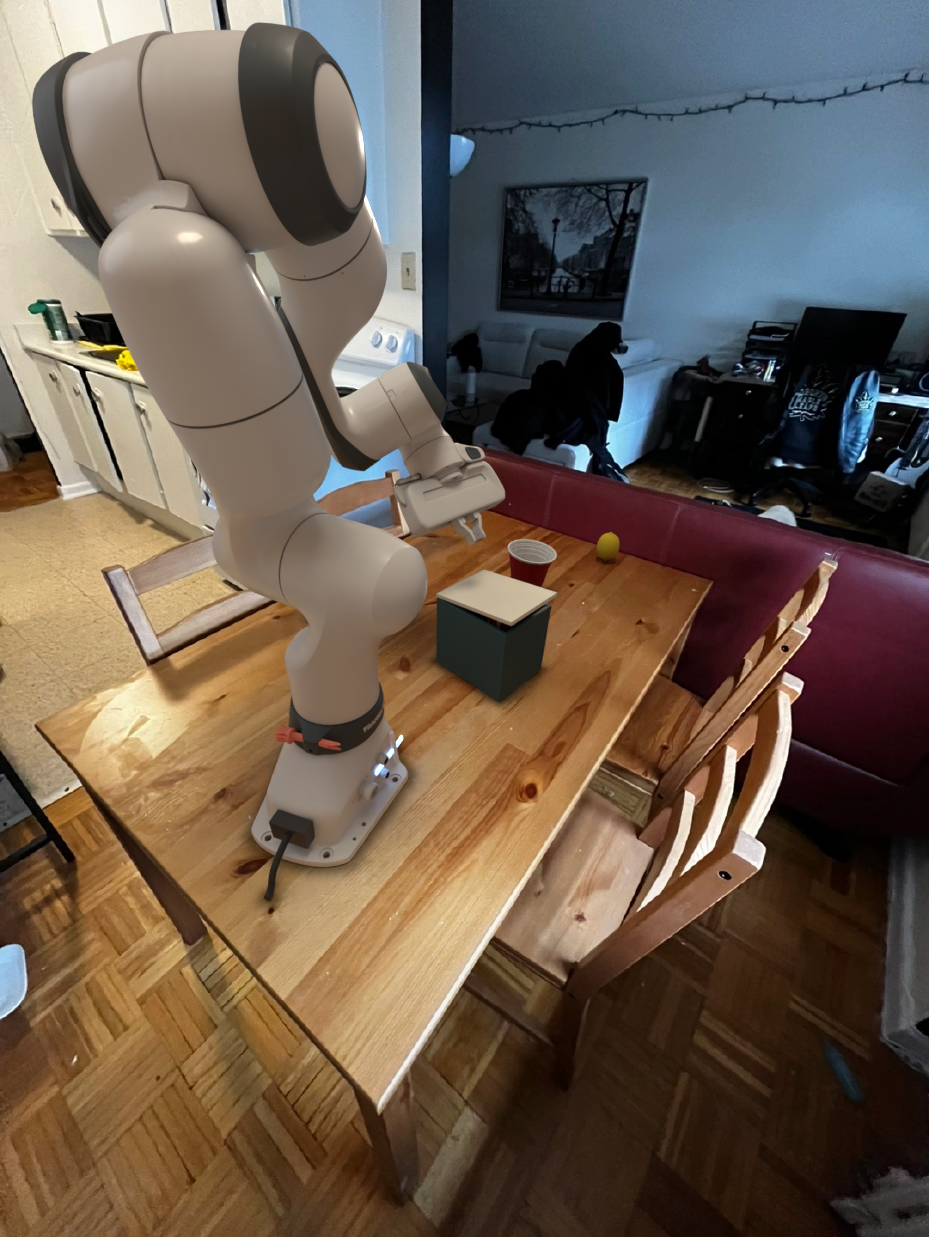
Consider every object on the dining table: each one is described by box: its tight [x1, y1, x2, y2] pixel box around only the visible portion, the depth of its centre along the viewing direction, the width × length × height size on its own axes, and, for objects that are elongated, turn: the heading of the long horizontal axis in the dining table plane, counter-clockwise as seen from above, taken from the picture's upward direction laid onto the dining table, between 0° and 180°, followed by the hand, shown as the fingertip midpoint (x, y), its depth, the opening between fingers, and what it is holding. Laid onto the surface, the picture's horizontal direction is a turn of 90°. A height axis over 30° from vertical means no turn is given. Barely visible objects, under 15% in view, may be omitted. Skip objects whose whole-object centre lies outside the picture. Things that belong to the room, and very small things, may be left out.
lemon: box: [596, 531, 620, 562], centre depth 128 cm, size 6×6×8 cm
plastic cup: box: [506, 538, 558, 588], centre depth 110 cm, size 11×11×12 cm
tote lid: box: [436, 569, 558, 626], centre depth 84 cm, size 16×12×1 cm
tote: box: [435, 596, 552, 703], centre depth 89 cm, size 15×12×14 cm
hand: (478, 541), depth 82 cm, fingers closed
